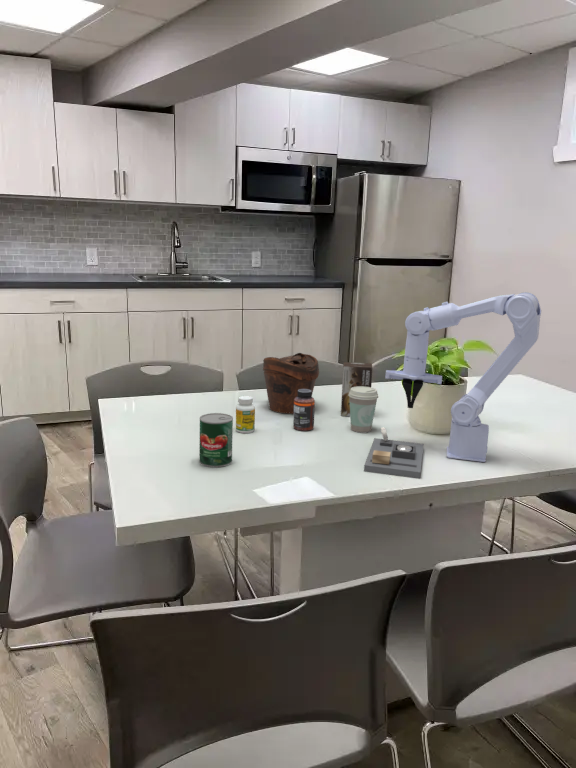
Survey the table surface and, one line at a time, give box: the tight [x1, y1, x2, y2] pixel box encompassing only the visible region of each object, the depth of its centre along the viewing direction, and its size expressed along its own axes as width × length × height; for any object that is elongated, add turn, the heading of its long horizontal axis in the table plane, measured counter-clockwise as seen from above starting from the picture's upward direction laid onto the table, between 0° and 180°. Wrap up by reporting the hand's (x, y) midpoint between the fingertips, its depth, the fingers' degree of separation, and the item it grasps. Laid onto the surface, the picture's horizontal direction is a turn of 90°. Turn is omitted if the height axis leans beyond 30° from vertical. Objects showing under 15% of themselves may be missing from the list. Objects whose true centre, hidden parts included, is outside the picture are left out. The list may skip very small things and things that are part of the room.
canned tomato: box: [198, 412, 234, 468], centre depth 141 cm, size 8×8×11 cm
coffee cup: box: [349, 386, 379, 434], centre depth 170 cm, size 8×8×12 cm
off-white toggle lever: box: [380, 427, 389, 440], centre depth 154 cm, size 1×1×4 cm
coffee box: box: [340, 361, 374, 417], centre depth 185 cm, size 9×6×16 cm
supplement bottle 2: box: [292, 389, 316, 432], centre depth 169 cm, size 6×6×11 cm
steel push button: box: [397, 445, 412, 452], centre depth 147 cm, size 4×4×2 cm
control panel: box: [363, 437, 424, 479], centre depth 148 cm, size 13×21×3 cm, turn 165°
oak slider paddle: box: [372, 450, 391, 465], centre depth 142 cm, size 4×3×2 cm
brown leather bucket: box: [262, 352, 320, 415], centre depth 189 cm, size 18×20×18 cm
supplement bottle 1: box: [235, 395, 256, 434], centre depth 165 cm, size 5×5×10 cm
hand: (410, 407), depth 158 cm, fingers closed
